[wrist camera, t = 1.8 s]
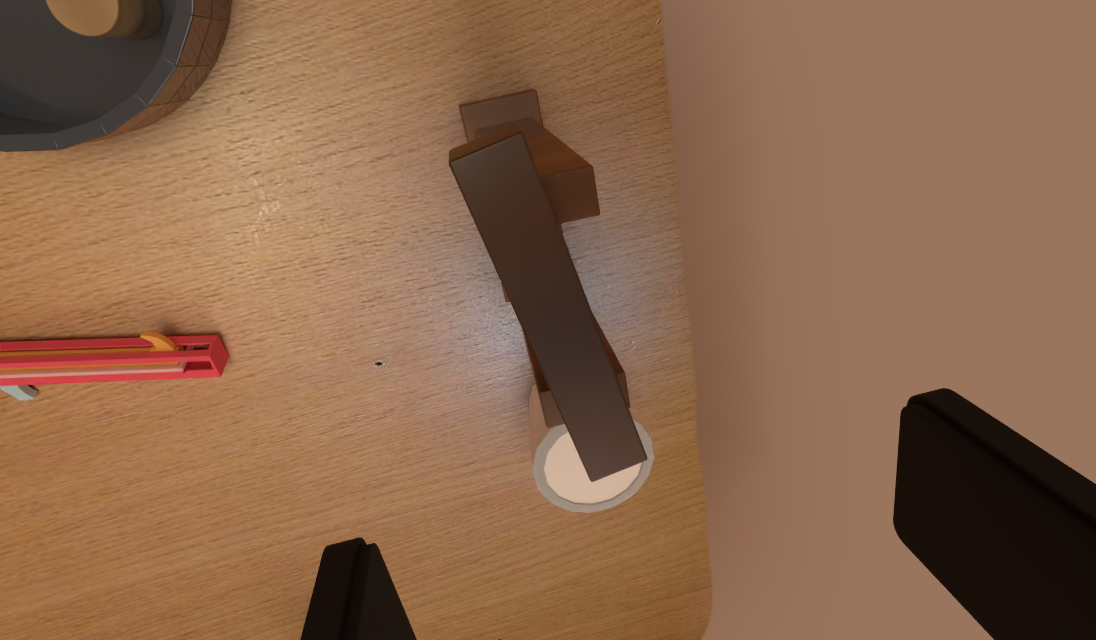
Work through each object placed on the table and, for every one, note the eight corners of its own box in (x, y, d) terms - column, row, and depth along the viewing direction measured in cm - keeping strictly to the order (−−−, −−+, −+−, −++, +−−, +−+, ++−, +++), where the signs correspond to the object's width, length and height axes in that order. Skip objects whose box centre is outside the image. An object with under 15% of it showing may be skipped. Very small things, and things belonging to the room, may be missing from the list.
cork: (130, -39, 26) (79, -54, 23) (176, 18, 27) (133, 12, 24) (84, -5, 26) (26, -15, 23) (131, 50, 28) (82, 49, 24)
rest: (458, 105, 31) (463, 147, 17) (534, 88, 31) (603, 117, 17) (504, 296, 36) (539, 461, 21) (570, 281, 36) (648, 434, 21)
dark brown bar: (448, 150, 17) (447, 161, 15) (514, 122, 16) (522, 130, 15) (579, 447, 21) (591, 483, 19) (632, 425, 21) (648, 460, 19)
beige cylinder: (572, 331, 37) (596, 388, 31) (643, 393, 40) (679, 456, 34) (497, 405, 39) (506, 473, 32) (570, 459, 41) (592, 533, 35)
